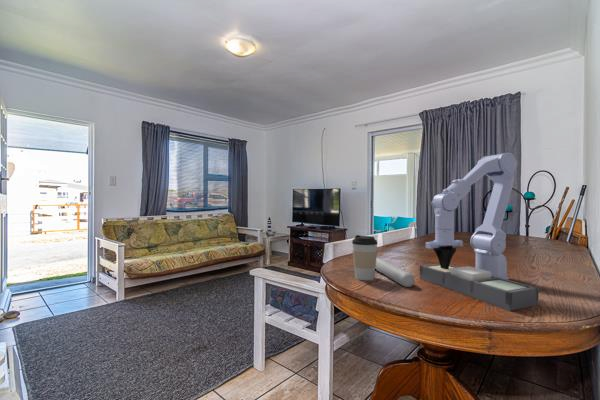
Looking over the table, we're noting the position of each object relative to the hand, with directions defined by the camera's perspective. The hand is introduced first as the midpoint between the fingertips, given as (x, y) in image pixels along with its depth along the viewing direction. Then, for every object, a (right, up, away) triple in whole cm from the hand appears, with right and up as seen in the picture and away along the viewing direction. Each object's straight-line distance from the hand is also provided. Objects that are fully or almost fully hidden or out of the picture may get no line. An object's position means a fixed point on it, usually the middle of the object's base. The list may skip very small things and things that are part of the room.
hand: (444, 268), depth 98 cm
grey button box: (+3, -5, -9) cm, 11 cm away
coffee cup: (-26, -5, +5) cm, 27 cm away
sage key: (+7, -3, -19) cm, 20 cm away
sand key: (0, -2, 0) cm, 2 cm away
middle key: (+3, -1, -9) cm, 10 cm away
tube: (-16, -5, +5) cm, 18 cm away
